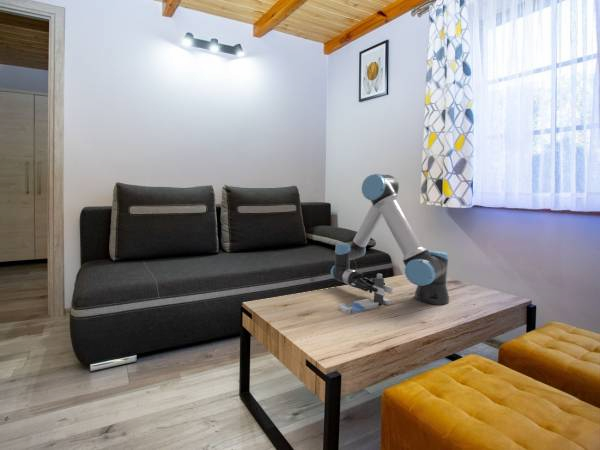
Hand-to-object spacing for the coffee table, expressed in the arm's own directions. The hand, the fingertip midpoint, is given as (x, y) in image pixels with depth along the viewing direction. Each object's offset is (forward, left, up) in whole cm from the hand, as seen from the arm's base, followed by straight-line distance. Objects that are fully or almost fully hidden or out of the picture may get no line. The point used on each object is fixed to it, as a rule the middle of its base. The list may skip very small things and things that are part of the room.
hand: (387, 291), depth 150 cm
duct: (+7, -5, -7) cm, 11 cm away
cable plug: (0, -5, -7) cm, 8 cm away
